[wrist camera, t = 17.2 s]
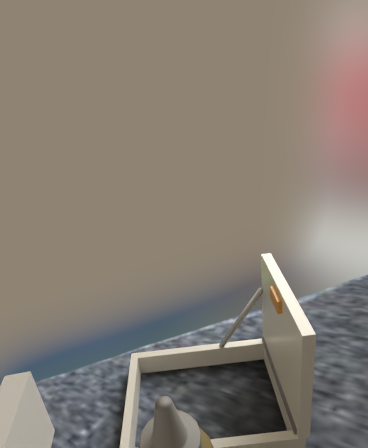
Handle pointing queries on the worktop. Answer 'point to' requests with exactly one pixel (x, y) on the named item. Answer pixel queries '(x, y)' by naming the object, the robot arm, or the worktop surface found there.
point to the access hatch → (248, 351)
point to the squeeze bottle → (172, 429)
